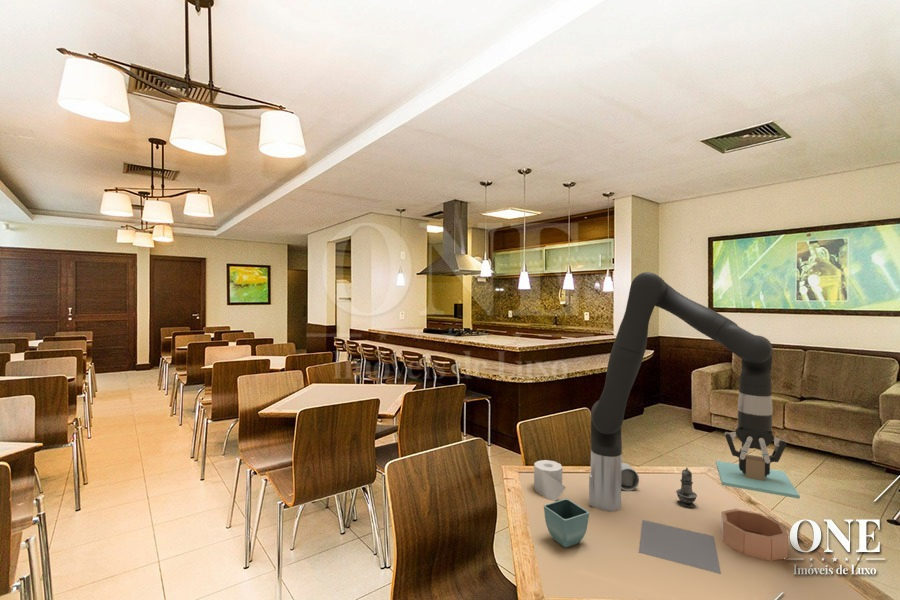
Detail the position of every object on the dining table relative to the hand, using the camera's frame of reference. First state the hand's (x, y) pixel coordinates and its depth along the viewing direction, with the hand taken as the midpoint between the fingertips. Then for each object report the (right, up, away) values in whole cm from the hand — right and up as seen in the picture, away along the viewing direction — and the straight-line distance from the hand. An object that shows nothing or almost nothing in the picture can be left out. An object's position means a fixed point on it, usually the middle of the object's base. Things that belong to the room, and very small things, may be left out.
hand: (753, 473), depth 114 cm
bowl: (0, -19, 0) cm, 19 cm away
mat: (-21, -19, 0) cm, 28 cm away
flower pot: (-50, -19, +1) cm, 54 cm away
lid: (0, -2, 0) cm, 2 cm away
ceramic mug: (-22, -19, +35) cm, 45 cm away
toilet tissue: (-48, -19, +30) cm, 60 cm away
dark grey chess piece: (-6, -19, +22) cm, 30 cm away
